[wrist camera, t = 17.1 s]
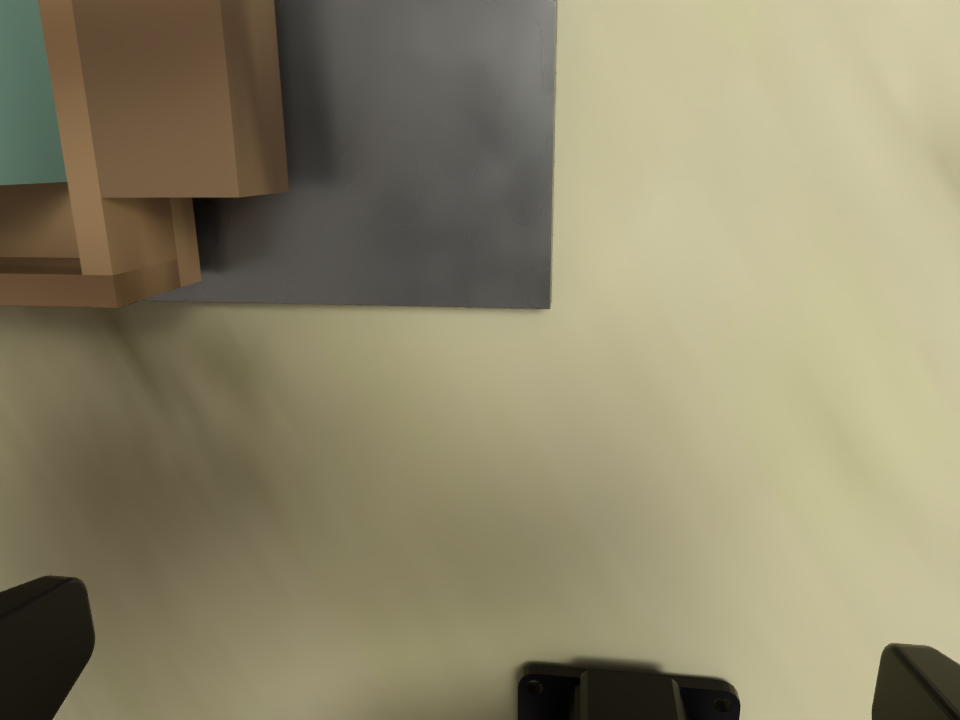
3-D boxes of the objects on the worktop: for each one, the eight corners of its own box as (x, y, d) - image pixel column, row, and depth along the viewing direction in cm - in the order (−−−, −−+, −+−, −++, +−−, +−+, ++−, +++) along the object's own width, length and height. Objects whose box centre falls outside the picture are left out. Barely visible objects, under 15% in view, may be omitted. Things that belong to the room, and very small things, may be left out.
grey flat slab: (551, 302, 19) (545, 326, 16) (-109, 289, 22) (-206, 308, 19) (560, -182, 16) (555, -250, 13) (-207, -126, 19) (-340, -173, 16)
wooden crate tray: (320, 278, 19) (250, 310, 15) (-83, 272, 20) (-242, 299, 16) (290, -144, 16) (196, -241, 12) (-170, -112, 18) (-383, -188, 14)
